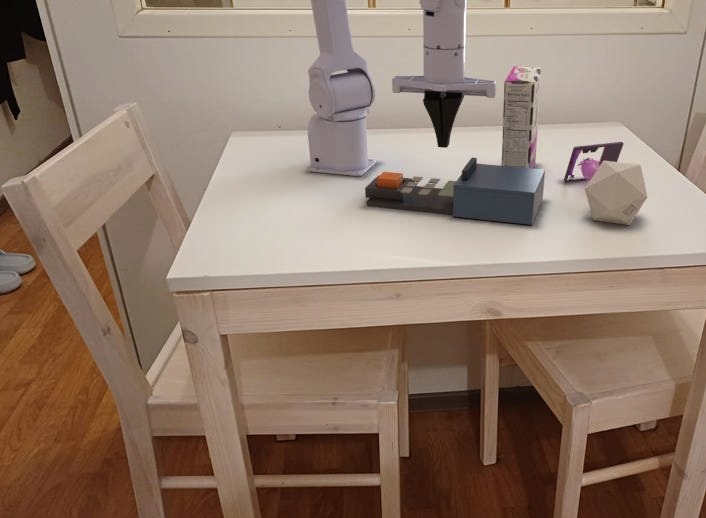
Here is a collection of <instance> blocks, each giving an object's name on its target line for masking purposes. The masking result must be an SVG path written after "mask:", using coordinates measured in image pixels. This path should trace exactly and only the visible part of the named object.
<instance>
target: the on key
mask: <svg viewBox="0 0 706 518" xmlns="http://www.w3.org/2000/svg"><path fill="white" fill-rule="evenodd" d="M379 175H380V176H379V177H378V178H377V186H378V187H388V188H399V187H400V186H401V185H402V184H403V178H404V173H401V172H390V171H383V172H382V173H380V174H379Z"/></svg>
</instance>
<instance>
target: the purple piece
mask: <svg viewBox="0 0 706 518" xmlns="http://www.w3.org/2000/svg"><path fill="white" fill-rule="evenodd" d="M624 144H625V143H624V142H623V141H615V142H606V143H597V144H596V143H595V144H588V145H578V146H574V147H573V149H572V151H571V155H570V157H569V161H568V165H567V168H566V170H565V171H566V172H565V174H564V178H563V182H564V183H568V182H579V181H590V180H591V178H592V177H593V175H594V174H595V172H596V171H597V169H598V168H599V166H600V165H601V163H602V162H603V161H612V162H618V160H619V158H620V155H621V152H622V150H623V146H624ZM599 148H603V150H602V153H601V155H600V159H599V160H597V159H596V158H592V157H587V158H583V160H582V161H580V162H579V163H578V164H577V167H579V166H581V167H579V169H580V170H581V174H582V177H576V178H575V174H573V173H574V168H575V166H576V163H577V160H578V158H579V156H580V154H581V153H582V154H589V152H590V153H596V152H597V150H599Z"/></svg>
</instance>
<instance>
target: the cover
mask: <svg viewBox="0 0 706 518" xmlns="http://www.w3.org/2000/svg"><path fill="white" fill-rule="evenodd" d="M545 177H546V169H545V168H543V169H542V168H534V169H533V168H522V167H511V166H502V165H499V164H498V165H497V164H487V163H478V159H477V157H471V158H470V159H469V161H467V163H466V164H465V166H463V168H462V170H461V174H460V176H458V178H457V180H455V181H456V182H455V184H454V187H453V188H454V189H453V215H452V217H455V218H464V219H473V220H474V219H475V220H483V221H484V220H485V221H492V222H503V223H512V224H522V225H531V226H532V225H533V223H534V221H535V218H536V217H537V214H538V213H539V212H538V211H539V210H540V207H541V205H542V202H543V199H544V188H545Z"/></svg>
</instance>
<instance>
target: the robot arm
mask: <svg viewBox="0 0 706 518" xmlns="http://www.w3.org/2000/svg"><path fill="white" fill-rule="evenodd" d="M310 4H311V10H312V17H313V22H314V28H315V32H316V39H317V44H318V49H319V55H318V57H317V58H316V59H315V60H314V62H313V63H312V64H311V66H310V67H309V68H308V70H307V73H308V81H309V87H308V88H309V89H308V98H309V102H310V105H311V107H312V109H313V111H314V112H315V113H314V114H312V115H311V116H310V118H309V121H308V125H307V139H308V140H307V141H308V150H309V163H310V168H309V170H308V171H309V172H310V173H322V174H330V175H342V176H350V177H351V176H352V177H362V176H363V175H365V174H366V173H367V172H368V171H369V170H370V169H372V167H374V165H375V164H377V160H376V159H369V154H368V135H367V134H368V133H367V115H369V114H370V108H371V107H372V106H373V105H374V103H375V99H376V87H375V83H374V81H373V79H372V77H371V74H370V71H369V66H368V61H367V60H366V59H364V58H363V57H362V56H361V55H359V54H358V53H357V52H356V51H355V50H354V45H353V39H352V34H351V27H350V20H349V14H348V8H347V3H346V0H310ZM419 5H420V9H422V16H423V17H422V20H423V21H422V27H423V30H422V31H423V34H422V35H423V38H422V39H423V46H422V47H423V50H422V51H423V75H395V76H394V77H392V80H391V84H392V85H391V87H392V89H391V90H392V93H393V94H401V93H408V94H409V93H412V94H424V95H423V99H422V103H423V107H424V109H425V110H426V112H427V114H428V116H429V118H430V121H431V124H432V125H433V126H432V127H433V129H434V130H433V131H434V133H435V138H436V143H437V147H438V148H447V149H448V147H449V145H450V141H451V135H452V130H453V126H454V124H455V123H454V122H455V119H456V116H457V114H458V111H459V110H460V108H461V105H462V102H463V101H464V98H465V96H468V97H469V96H470V97H486V98H488V99H494V98H495V97H496V94H497V81H496V80H490V79H481V78H474V77H466V76H465V73H466V72H465V69H466V68H465V67H466V27H467V0H419ZM340 71H346V72H341V73H336V72H340ZM335 73H336V74H335Z"/></svg>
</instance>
